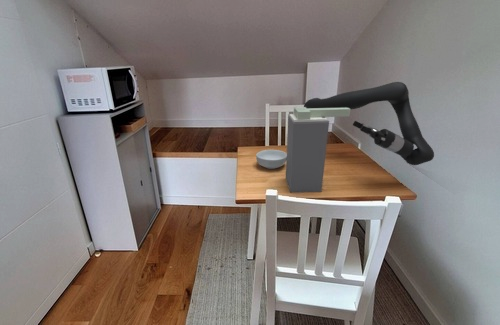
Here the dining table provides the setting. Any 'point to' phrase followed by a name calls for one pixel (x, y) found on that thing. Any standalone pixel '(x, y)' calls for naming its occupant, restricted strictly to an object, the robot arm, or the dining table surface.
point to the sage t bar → (320, 112)
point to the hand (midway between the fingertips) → (357, 125)
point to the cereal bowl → (271, 158)
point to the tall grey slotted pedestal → (306, 153)
